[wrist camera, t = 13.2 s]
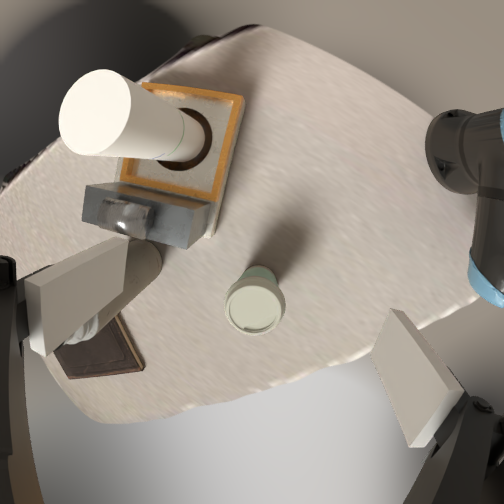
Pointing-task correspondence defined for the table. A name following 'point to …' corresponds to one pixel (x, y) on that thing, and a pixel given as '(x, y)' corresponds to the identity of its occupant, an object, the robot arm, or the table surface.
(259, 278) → the coffee cup
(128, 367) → the hardcover book
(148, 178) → the grey stand with tray
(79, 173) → the table surface
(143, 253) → the thermos bottle
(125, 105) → the cylindrical container
